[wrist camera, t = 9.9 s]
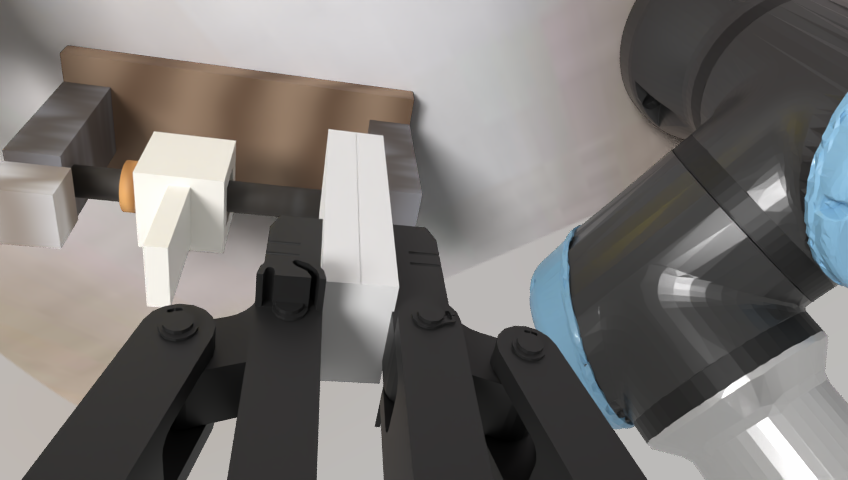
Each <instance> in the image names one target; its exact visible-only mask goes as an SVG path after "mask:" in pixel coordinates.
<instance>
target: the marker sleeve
mask: <svg viewBox="0 0 848 480" xmlns="http://www.w3.org/2000/svg"><path fill="white" fill-rule="evenodd" d="M235 164H236V141H234V140H225V139H217V138H208V137H199V136H190V135H182V134H173V133H164V132H155V131H154V132H153V134H152V136H151V138H150V140H149V142H148V144H147V146H146V148H145V150H144V152H143V153H142V155H141V157H140V159H139V161H138V163H137V165H136V167H135V169H134V171H133V183H134V196H135V209H136V223H137V236H138V246H139V247H143V257H144V271H145V286H146V300H147V306H152V307H164V306H168V305H172V301H173V298H174V295H175V292H176V289H177V286H178V283H179V280H180V277H181V273H182V270H183V267H184V264H185V261H186V258H187V255H188V252H189V251H199V252H211V253H224V249H225V245H226V241H227V236H228V232H229V228H230V224H231V220H232V216H233V212H227V186H228V183H229V180H231V181H235Z"/></svg>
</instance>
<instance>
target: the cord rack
mask: <svg viewBox="0 0 848 480" xmlns="http://www.w3.org/2000/svg"><path fill="white" fill-rule="evenodd" d="M60 58H61V65H62V73H63V81H64V82H63V83H62V84H61V85H60V86H59V87H58V88H57V89H56V91H55V92H54V93H53V94H52V95H51V96H50V97H49V98H48V100H47V101H46V102H45V103H44V104H43V105H42V106H41V107H40V109H39V110H38V111H37V112H36V113H35V114H34V115H33V116H32V117H31V119H30V120H29V121H28V122H27V123H26V124H25V125H24V126H23V128H22V129H21V130H20V131H19V132H18V133H17V134H16V135H15V137H14V138H13V139H12V140H11V141H10V142H9V143H8V144H7V145H6V147H5V148H4V149H3V150H2V151H3V156H4V161H0V244H7V245H19V246H31V247H43V248H56V249H61V248H62V246H63V245H64V243H65V241H66V240H67V238H68V236H69V234H70V233H71V231H72V229H73V228H74V226H75V224H76V222H77V221H78V215H79V213H80V212H81V210H82V208H83V207H84V205H85V203H86V202H87V200H88V199H97V200H108V201H118V202H120V207H121V209H122V211H123V212H131V213H136V209H135V196H134V183H133V171H134V169H135V167H136V165H137V163H138V161H139V159H140V157H141V155H142V153H143V152H144V150H145V148H146V146H147V144H148V142H149V140H150V138H151V136H152V134H153V132H154V131H155V132H164V133H173V134H182V135H190V136H199V137H208V138H217V139H225V140H234V141H236V164H235V181H231V180H229V183H228V186H227V212H234V213H244V214H255V215H265V216H276V217H280V216H281V215H285V216H295V217H306V218H316V219H319V212H320V203H321V193H322V184H323V175H324V166H325V157H326V148H327V138H328V129H332V130H340V131H349V132H357V133H365V134H374V135H382V136H383V139H384V148H385V158H386V167H387V176H388V186H389V195H390V205H391V214H392V224H394V225H404V226H415V227H416V222H417V218H418V213H419V208H420V203H421V199H422V190H421V184H420V179H419V173H418V168H417V162H416V157H415V151H414V146H413V140H412V135H411V130H410V120H411V114H412V109H413V103H414V97H413V92H412V91H404V90H397V89H389V88H382V87H374V86H367V85H359V84H352V83H345V82H337V81H330V80H322V79H315V78H307V77H300V76H292V75H285V74H277V73H270V72H262V71H255V70H247V69H240V68H232V67H225V66H217V65H210V64H202V63H195V62H188V61H180V60H173V59H165V58H158V57H150V56H143V55H135V54H128V53H120V52H113V51H105V50H98V49H90V48H83V47H75V46H68V45H67V46H66V47H65V48H64V49H63V50H62V51H61V52H60Z"/></svg>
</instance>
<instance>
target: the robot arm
mask: <svg viewBox="0 0 848 480" xmlns="http://www.w3.org/2000/svg"><path fill="white" fill-rule="evenodd" d="M620 68H621V74H622V79H623V82H624V85H625V88H626V90H627V92H628V94H629V96H630V98H631V99H632V101H633V102H634V104H635V105H636V106H637V107H638V109H639V110H640V111H641V112H642V113H643V114H644V115H645V117H646V118H647V119H648V120H649V121H650V122H652V123H653V124H654V125H655V126H657V127H658V128H660V129H661V130H663V131H664V132H666V133H668V134H670V135H673V136H675V137H678V138H681V139H684V141H683V142H681V143H680V144H679V145H678V146H677V147H675V148H674V149H673V150H671V151H670V152H669V153H667V154H666V155H665V156H664V157H663V158H662V159H660V160H659V161H658V162H657V163H656V164H654V165H653V166H652V167H651V168H650V169H649V170H647V171H646V172H645V173H644V174H643V175H641V176H640V177H639V178H638V179H637V180H636V181H634V182H633V183H632V184H631V185H630V186H628V187H627V188H626V189H625V190H624V191H623V192H621V193H620V194H619V195H618V196H617V197H615V198H614V199H613V200H612V201H611V202H609V203H608V204H607V205H606V206H605V207H603V208H602V209H601V210H600V211H598V212H597V213H596V214H595V215H593V216H592V217H591V218H590V219H589V220H587V221H586V222H585V223H584V224H582V225H579V226H577V227H575V228H574V229H573V230H572V231H570V233H569V234H568V236H567V237H566V239H565V241H564V242H563V243H562V244H561V245H560V246H558V247H557V248H556V250H554V251H553V252H552V253H551V254H550V255H549V256H548V257H547V258H546V259H544V260H543V261H542V262H541V263H540V264H539V266H538V267H537V269H536V270H535V272H534V274H533V276H532V280H531V286H530V308H531V313H532V317H533V322H534V325H535V328H536V329H532V328H529V327H526V326H513V327H509V328H506V329H504V330H503V331H502V332H501V333H500V334H499V335H498V338H495V337H492V336H489V335H486V334H482V333H479V332H477V331H474V330H472V329H469V328H468V327H466V326H465V325H463V324H461V321H460V318H459V316H458V314H457V312H456V311H454V309H453V308H451V307H450V306H449V304H448V299H447V294H446V289H445V284H444V278H443V273H442V268H441V263H440V257H439V252H438V247H437V242H436V240H435V238H434V237H433V236H432V235H431V233H430V232H429V231H428V230H427V229H426V228H425V227H415V226H404V225H394V224H392V214H391V205H390V195H389V186H388V176H387V167H386V158H385V148H384V139H383V136H382V135H374V134H365V133H357V132H349V131H340V130H332V129H328V138H327V148H326V157H325V166H324V175H323V184H322V193H321V203H320V212H319V219H316V218H306V217H295V216H285V215H281V216H280V217H279V218H278V219H277V220H276V221H275V222H274V223H273V224H272V225H271V226H270V231H269V237H268V244H267V250H266V256H265V262H264V264H262V265H261V266H260V268H259V270H258V272H257V276H256V297H255V303H254V304H253V305H252V306H251V307H250V308H248V309H247V310H246V311H243V312H241V313H239V314H237V315H233V316H229V317H224V318H218V319H213V317H212V316H211V315H210V314H209V313H208V312H207V311H206V310H204V309H202V308H199V307H197V306H194V305H186V304H175V305H168V306H164V307H162V308H159V309H157V310H155V311H152V312H151V313H150V314H149V315H148V316H147V317H146V318H144V319H143V321H142V322H141V323H140V325H139V326H138V327H137V329H136V330H135V331H134V332H133V334H132V335H131V336H130V338H129V339H128V340H127V342H126V343H125V344H124V346H123V347H122V348H121V350H120V351H119V352H118V353H117V355H116V356H115V357H114V359H113V360H112V361H111V363H110V364H109V365H108V367H107V368H106V369H105V371H104V372H103V373H102V375H101V376H100V377H99V378H98V380H97V381H96V382H95V384H94V385H93V386H92V388H91V389H90V390H89V392H88V393H87V394H86V396H85V397H84V398H83V400H82V401H81V402H80V403H79V405H78V406H77V407H76V409H75V410H74V411H73V413H72V414H71V415H70V417H69V418H68V419H67V421H66V422H65V423H64V425H63V426H62V427H61V428H60V430H59V431H58V433H57V434H56V435H55V436H54V438H53V439H52V440H51V442H50V443H49V444H48V446H47V447H46V448H45V449H44V451H43V452H42V454H41V455H40V456H39V458H38V459H37V460H36V461H35V463H34V464H33V465H32V467H31V468H30V469H29V471H28V472H27V473H26V475H25V476H24V477H23V478H22V480H186V479H187V477H188V476H189V473H190V472H191V470H192V468H193V466H194V464H195V462H196V460H197V458H198V456H199V454H200V452H201V450H202V448H203V446H204V444H205V443H206V441H207V439H208V437H209V435H210V433H211V431H212V429H213V425H214V422H218V421H223V420H227V419H231V418H236V417H237V421H236V428H235V434H234V440H233V446H232V453H231V460H230V465H229V471H228V477H227V480H317V451H318V424H319V395H320V381H338V382H358V383H378V384H379V383H380V379H381V374H382V371H383V390H382V395H381V400H380V405H379V409H378V414H377V419H376V424H375V427H380V425H381V434H382V452H383V472H384V480H647V478H646V477H645V476H644V474H643V473H642V471H641V470H640V468H639V467H638V465H637V464H636V462H635V461H634V459H633V458H632V456H631V455H630V453H629V452H628V451H627V449H626V447H625V446H624V444H623V443H622V441H621V440H620V438H619V437H618V436H617V434H616V433H615V431H614V430H613V429H622V428H627V429H628V428H632V427H634V426H635V427H636V428H637V429H638V431H639V432H640V434H641V435H642V437H643V438H644V440H645V441H646V443H647V444H648V445H649V446H650V447H651V448H652V449H654V450H658V451H662V452H666V453H670V454H674V455H678V456H682V457H684V458H686V459H688V460H689V461H691V462H693V463H694V465H695V466H696V467H697V469H698V470H699V472H700V473H701V474H702V476H703V477H704V479H705V480H848V403H847V402H846V401H845V400H844V399H843V397H842V396H841V395H840V394H839V393H838V392H837V391H836V389H835V388H834V387H833V386H832V385H831V384H830V382H829V380H828V378H827V376H826V373H825V366H826V355H827V344H828V336H827V334H826V333H825V332H824V331H823V330H822V329H821V328H820V327H819V325H818V324H817V323H816V322H815V321H814V320H813V319H812V318H811V316H810V315H809V314H808V313H807V312H806V310H805V307H806V306H807V305H809V304H810V303H811V302H812V301H814V300H816V299H817V298H819V297H820V296H822V295H823V294H825V293H826V292H828V291H829V290H831V289H832V288H834V287H835V286H837V285H841V286H845V287H847V288H848V0H636V2H635V3H634V5H633V7H632V9H631V12H630V14H629V16H628V19H627V21H626V24H625V28H624V31H623V35H622V40H621V47H620Z"/></svg>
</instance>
